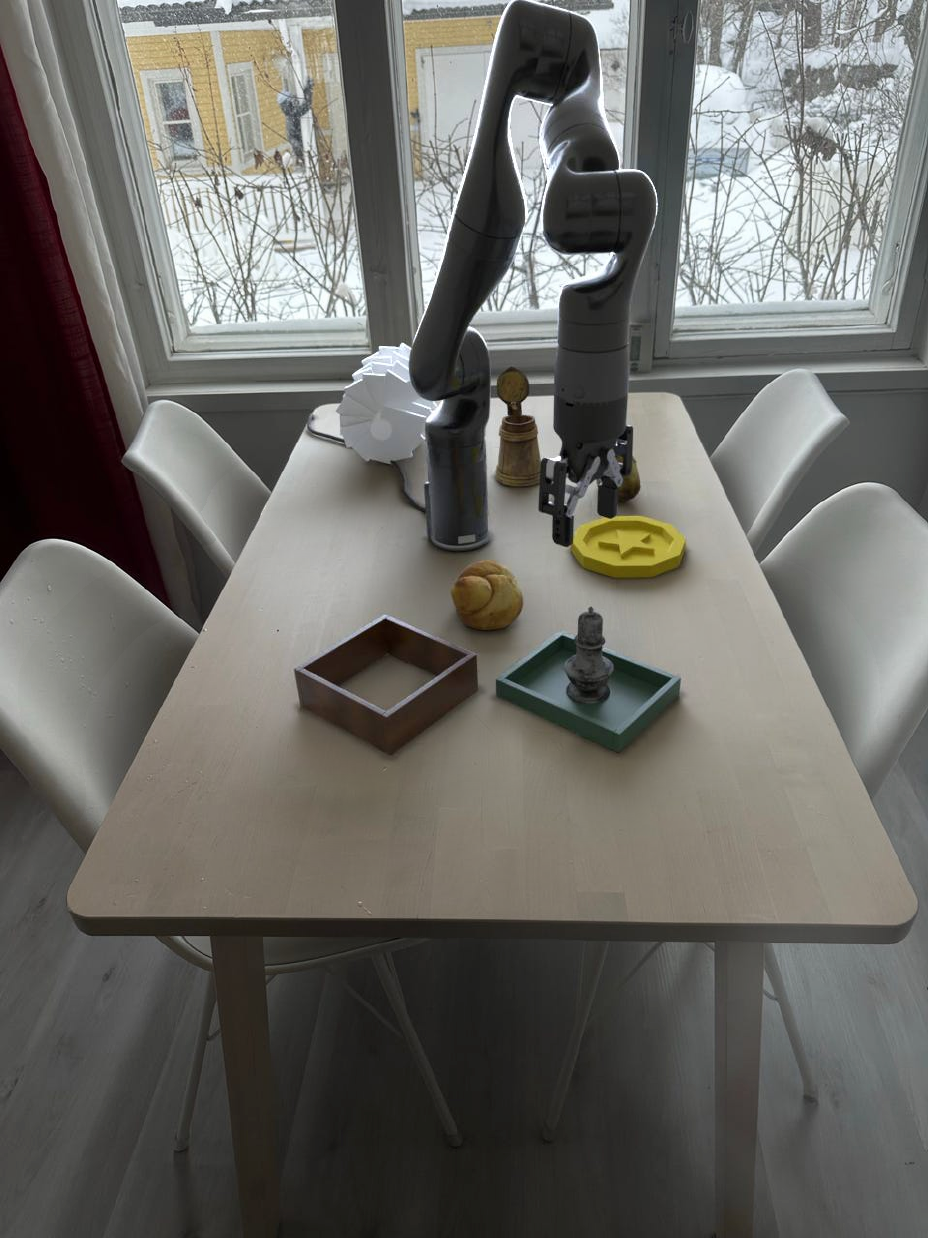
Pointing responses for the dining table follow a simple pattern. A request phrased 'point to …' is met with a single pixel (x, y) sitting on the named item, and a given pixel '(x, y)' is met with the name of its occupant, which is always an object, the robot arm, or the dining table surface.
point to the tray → (608, 722)
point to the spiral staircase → (384, 408)
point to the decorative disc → (628, 546)
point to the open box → (409, 715)
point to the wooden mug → (517, 434)
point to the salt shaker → (589, 662)
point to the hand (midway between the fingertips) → (585, 529)
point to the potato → (628, 482)
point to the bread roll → (487, 596)
